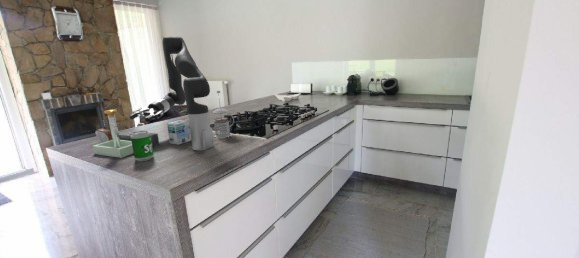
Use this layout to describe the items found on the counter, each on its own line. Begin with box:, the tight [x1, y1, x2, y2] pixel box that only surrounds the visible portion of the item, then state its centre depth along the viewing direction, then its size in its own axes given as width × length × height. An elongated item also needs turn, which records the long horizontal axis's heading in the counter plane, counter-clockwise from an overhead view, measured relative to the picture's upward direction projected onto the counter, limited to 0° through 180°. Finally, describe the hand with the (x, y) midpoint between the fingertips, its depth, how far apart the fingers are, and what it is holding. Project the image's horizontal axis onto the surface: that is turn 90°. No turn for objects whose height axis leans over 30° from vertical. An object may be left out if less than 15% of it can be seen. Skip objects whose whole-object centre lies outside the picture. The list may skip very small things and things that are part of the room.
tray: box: [92, 140, 134, 159], centre depth 131 cm, size 18×11×4 cm, turn 68°
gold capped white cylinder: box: [104, 109, 121, 148], centre depth 129 cm, size 5×5×19 cm
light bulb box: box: [166, 118, 191, 145], centre depth 144 cm, size 11×7×11 cm, turn 150°
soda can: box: [130, 130, 155, 162], centre depth 119 cm, size 8×8×12 cm
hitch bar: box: [118, 130, 160, 148], centre depth 140 cm, size 22×7×6 cm, turn 68°
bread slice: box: [94, 127, 113, 144], centre depth 143 cm, size 15×3×8 cm, turn 57°
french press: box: [212, 90, 235, 139], centre depth 149 cm, size 10×12×25 cm
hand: (138, 118), depth 137 cm, fingers open, 8 cm apart
